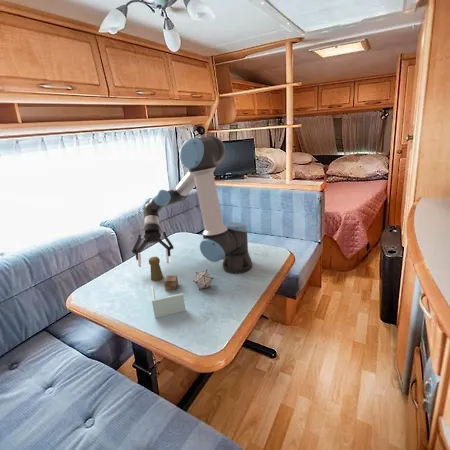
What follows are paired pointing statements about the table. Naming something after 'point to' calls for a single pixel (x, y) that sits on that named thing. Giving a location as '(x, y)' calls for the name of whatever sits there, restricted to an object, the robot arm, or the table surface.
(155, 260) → the cork
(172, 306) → the l-shaped corner panel
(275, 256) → the table surface
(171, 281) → the walnut block
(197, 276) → the game die
